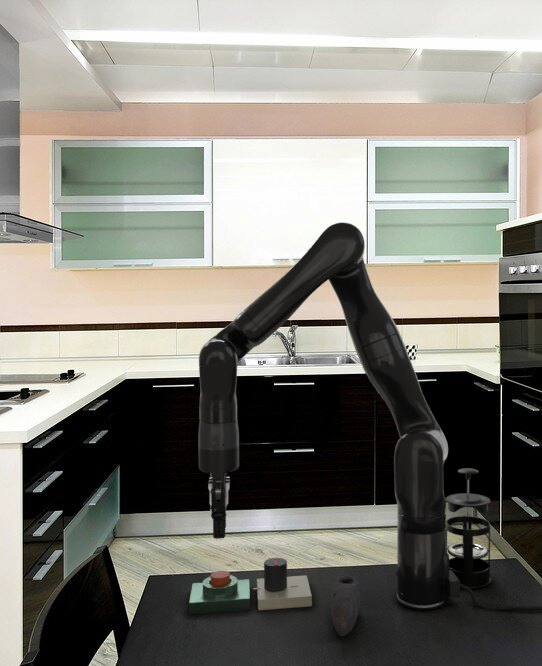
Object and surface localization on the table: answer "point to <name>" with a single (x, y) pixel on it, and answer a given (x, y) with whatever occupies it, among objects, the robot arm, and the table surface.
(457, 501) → the french press
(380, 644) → the table surface
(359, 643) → the table surface
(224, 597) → the button box
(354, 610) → the perforated stone tool
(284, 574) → the dial
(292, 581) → the control panel
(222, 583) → the button
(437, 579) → the robot arm
